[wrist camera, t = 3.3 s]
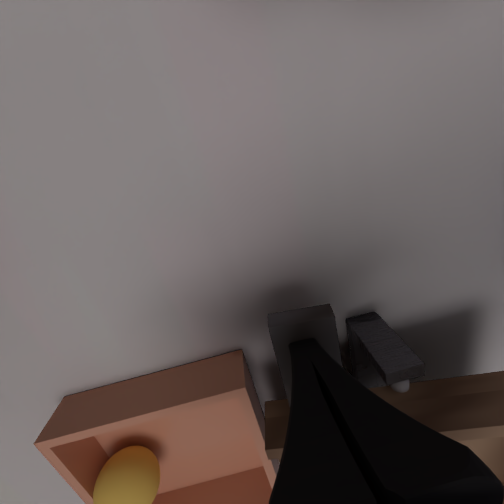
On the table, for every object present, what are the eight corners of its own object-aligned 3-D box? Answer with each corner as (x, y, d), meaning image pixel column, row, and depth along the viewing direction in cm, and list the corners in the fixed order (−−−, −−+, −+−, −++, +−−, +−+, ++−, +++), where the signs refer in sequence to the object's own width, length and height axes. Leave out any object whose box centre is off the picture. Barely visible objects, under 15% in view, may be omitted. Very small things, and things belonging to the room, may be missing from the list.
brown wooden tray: (593, 250, 11) (703, 287, 9) (534, 462, 17) (588, 527, 14) (239, 313, 13) (232, 359, 11) (292, 483, 19) (297, 543, 16)
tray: (241, 349, 17) (245, 387, 15) (278, 459, 22) (286, 504, 19) (64, 396, 17) (33, 444, 14) (137, 497, 22) (124, 548, 19)
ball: (129, 422, 19) (158, 452, 17) (150, 455, 21) (180, 487, 18) (71, 477, 16) (96, 524, 14) (100, 511, 18) (127, 558, 15)
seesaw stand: (375, 311, 17) (424, 363, 13) (384, 432, 22) (422, 500, 18) (345, 318, 17) (385, 373, 13) (361, 439, 22) (394, 507, 18)
